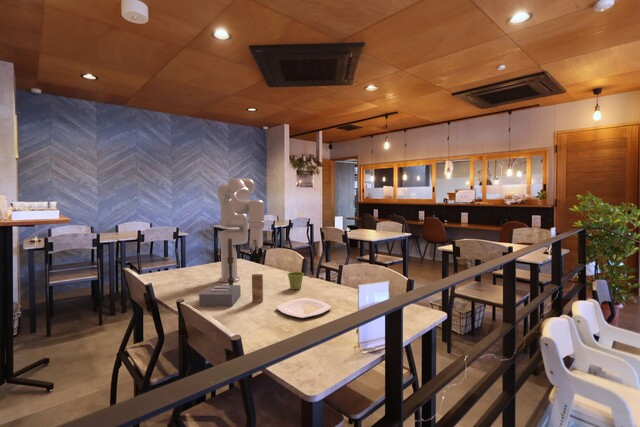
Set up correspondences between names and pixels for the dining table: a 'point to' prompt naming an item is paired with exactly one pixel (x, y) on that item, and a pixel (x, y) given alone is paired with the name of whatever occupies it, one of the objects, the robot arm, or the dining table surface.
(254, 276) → the tan upright bar
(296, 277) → the plant pot
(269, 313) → the dining table surface
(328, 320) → the dining table surface
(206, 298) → the grey slotted base block
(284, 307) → the plate
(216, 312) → the dining table surface
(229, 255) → the candlestick holder
